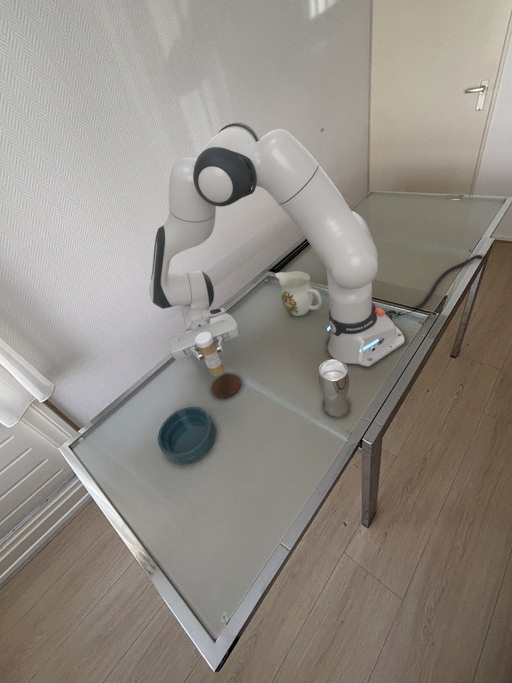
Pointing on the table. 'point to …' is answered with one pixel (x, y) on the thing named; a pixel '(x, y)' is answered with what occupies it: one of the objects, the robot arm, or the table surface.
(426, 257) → the table surface
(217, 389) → the coaster
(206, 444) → the bowl
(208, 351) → the sprinkles bottle
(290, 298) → the pitcher
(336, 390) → the silver metal tumbler
